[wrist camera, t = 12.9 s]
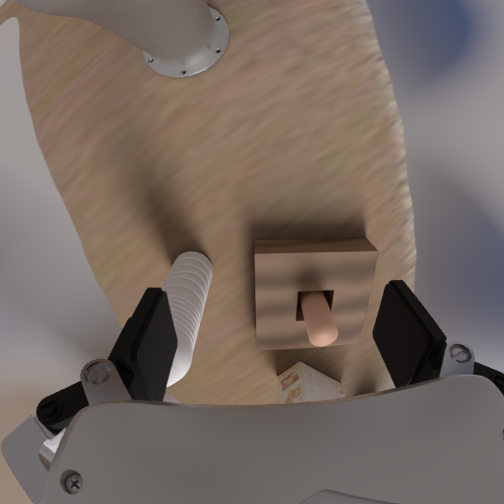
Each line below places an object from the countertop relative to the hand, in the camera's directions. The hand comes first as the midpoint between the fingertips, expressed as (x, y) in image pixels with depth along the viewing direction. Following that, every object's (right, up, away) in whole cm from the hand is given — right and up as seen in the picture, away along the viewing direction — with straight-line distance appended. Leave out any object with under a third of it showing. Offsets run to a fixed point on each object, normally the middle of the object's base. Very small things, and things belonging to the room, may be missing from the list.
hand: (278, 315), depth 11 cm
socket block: (+9, -4, +35) cm, 36 cm away
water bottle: (-12, 0, +33) cm, 35 cm away
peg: (+9, -4, +35) cm, 36 cm away
